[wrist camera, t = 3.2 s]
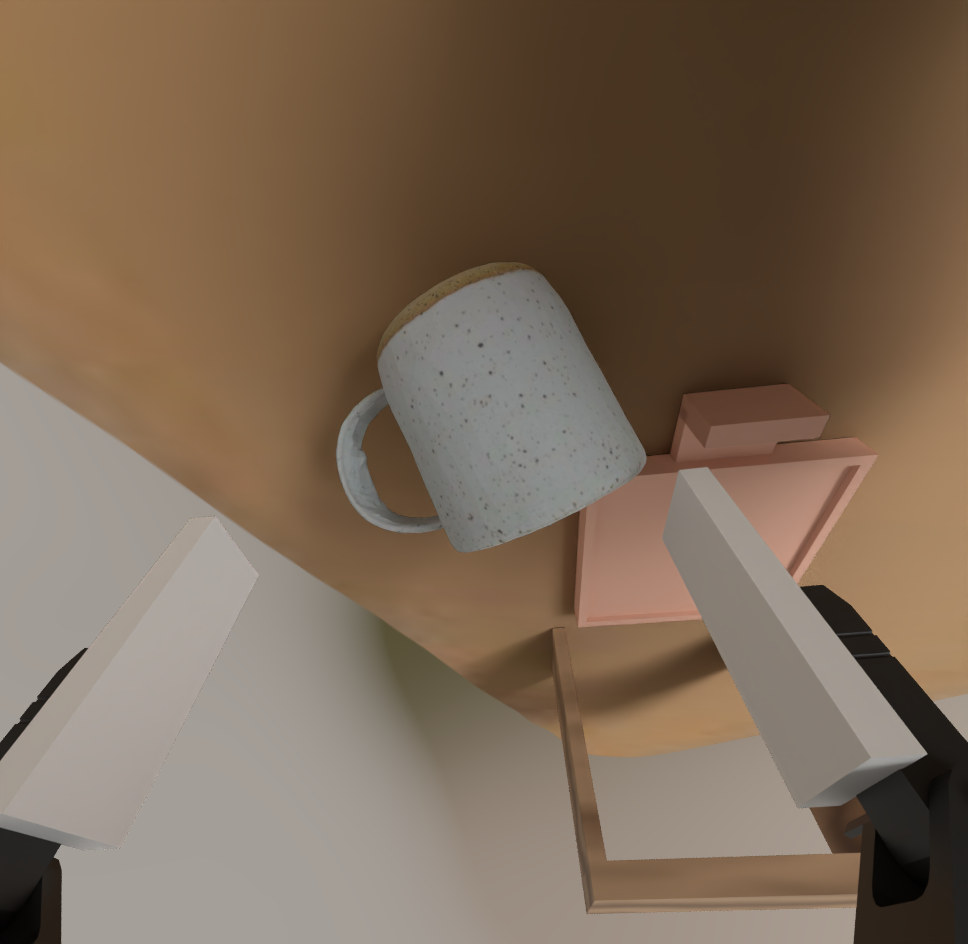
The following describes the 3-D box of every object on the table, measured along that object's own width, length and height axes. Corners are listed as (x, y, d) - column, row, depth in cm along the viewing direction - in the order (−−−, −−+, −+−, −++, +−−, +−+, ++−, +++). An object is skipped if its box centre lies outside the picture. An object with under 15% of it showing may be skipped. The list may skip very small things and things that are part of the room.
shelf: (552, 628, 33) (594, 900, 21) (776, 613, 32) (957, 891, 20) (552, 672, 38) (586, 914, 26) (746, 661, 37) (876, 907, 25)
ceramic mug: (519, 309, 19) (573, 196, 11) (596, 464, 19) (701, 459, 11) (310, 410, 18) (210, 363, 10) (397, 572, 18) (364, 645, 10)
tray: (585, 403, 20) (600, 436, 18) (891, 373, 19) (949, 403, 17) (574, 608, 31) (581, 645, 29) (765, 595, 31) (789, 631, 28)
